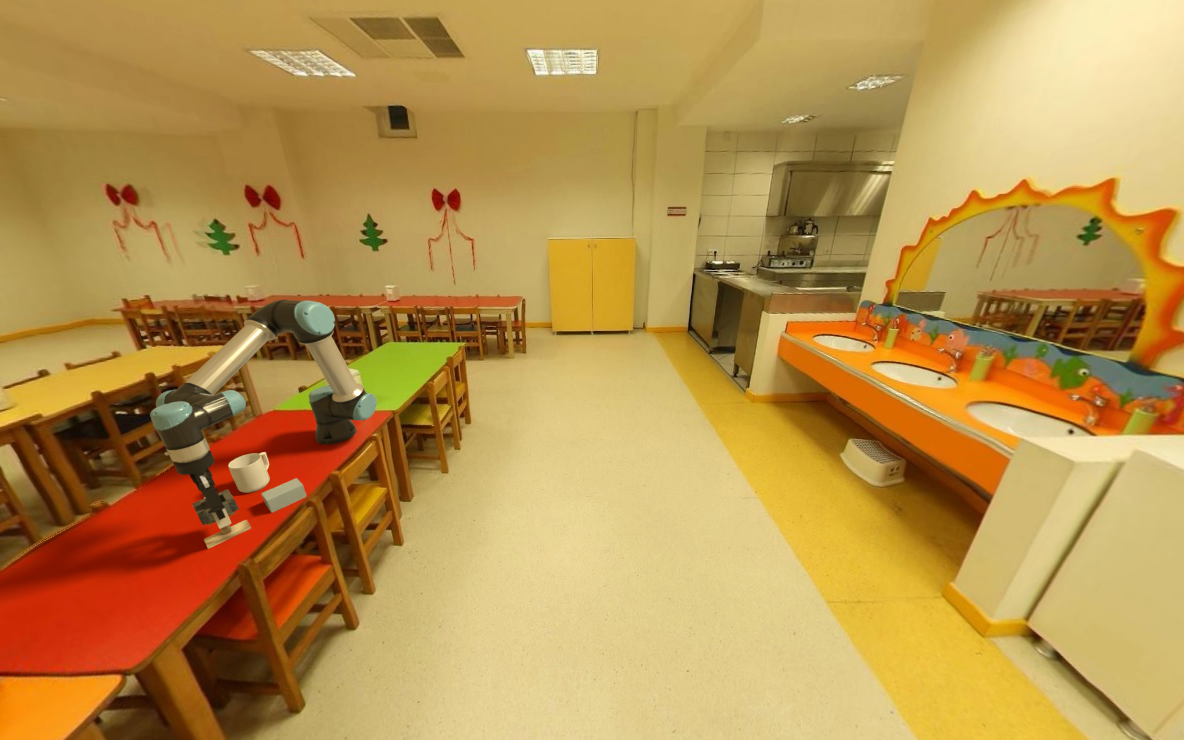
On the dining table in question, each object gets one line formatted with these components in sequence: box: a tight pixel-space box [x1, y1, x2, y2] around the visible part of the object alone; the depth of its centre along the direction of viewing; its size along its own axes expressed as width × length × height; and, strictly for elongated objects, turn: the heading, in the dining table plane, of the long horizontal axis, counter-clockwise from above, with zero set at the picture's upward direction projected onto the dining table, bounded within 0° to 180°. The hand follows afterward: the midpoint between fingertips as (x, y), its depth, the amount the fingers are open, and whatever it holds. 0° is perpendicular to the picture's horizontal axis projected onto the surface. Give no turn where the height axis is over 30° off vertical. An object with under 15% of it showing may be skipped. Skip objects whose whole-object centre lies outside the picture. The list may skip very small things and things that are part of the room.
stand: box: [203, 511, 252, 550], centre depth 113 cm, size 10×6×16 cm, turn 143°
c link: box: [191, 489, 240, 526], centre depth 112 cm, size 8×8×4 cm
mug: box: [227, 451, 271, 494], centre depth 136 cm, size 12×9×11 cm
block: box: [261, 477, 308, 513], centre depth 129 cm, size 10×6×5 cm, turn 143°
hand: (221, 518), depth 114 cm, fingers closed on c link, 8 cm apart
